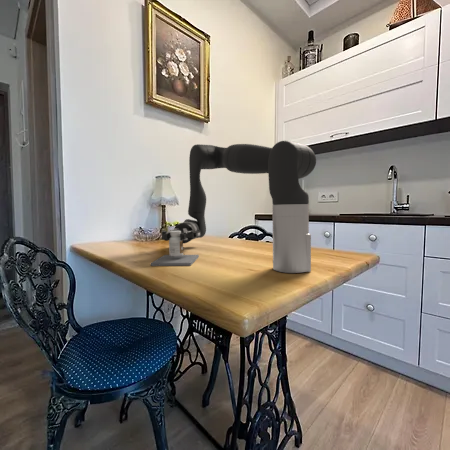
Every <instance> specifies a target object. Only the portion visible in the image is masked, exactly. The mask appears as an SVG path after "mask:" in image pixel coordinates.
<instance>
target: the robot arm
mask: <svg viewBox="0 0 450 450" xmlns="http://www.w3.org/2000/svg"><path fill="white" fill-rule="evenodd" d="M316 164H317V157H316V154H315V152H314V151H313V149H312V148H311V147H309V146H308V145H305V144H303V143H298V142H295V141H291V140H281V141H278V142H276V143H275V144H273V146H272V147H269V146H264V145H260V144H259V145H258V144H251V143H237V144H231V145H229V146H227V147H223V146H218V145H212V144H194V145H192V147H191V149H190V151H189V164H188V165H189V169H188V170H189V199H188V200H189V202H188V210H187V215H188V216H189V217H191V218H192V219H189V218H188V219H184V221H183V222H180V223H178V224H176V225H175V226H174V228H173V229H170V230H169V231H168V230H161V240H163V241H167V242H169V239H170V238H171V236H170V231H181V234H180V240H181V241H183V244H187V243H190V242H191V241H193V240H195V239H199V238H200V239H201V238H203V237H205V235H206V231H207V223H206V219H205V216H206V215H205V214H206V213H205V211H206V207H207V206H206V205H207V195H206V191H205V190H204V187H203V185H202V181H201V171H202V170H216V169H226V170H227V171H229V172H231V173H236V174H246V175H247V174H249V175H250V174H251V175H253V174H256V175H258V174H259V175H260V174H261V175H263V174H267V175H268V176H267V177H268V186H269V187H268V189H269V191H268V192H269V195H270V196H271V200H272V269H273V271H276V272H280V273H286V274H296V273H297V274H299V273H305V272H307V273H308V272H312V235H311V233H309V228H310V227H309V226H310V225H309V223H310V222H309V220H310V218H309V217H310V216H309V214H310V213H309V211H310V209H309V208H310V207H309V205H310V204H309V203H310V202H309V197H310V196H309V194H308V193H307V191H305V190H304V189H303V188H302V187H301V185H300V184H301V183H300V182H299V179H304V178H306V177H307V176H309V175H310V174H311V173H312V172H313V171H314V169H315V167H316ZM193 219H194V220H193Z"/></svg>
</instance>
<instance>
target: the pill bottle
mask: <svg viewBox="0 0 450 450" xmlns="http://www.w3.org/2000/svg"><path fill="white" fill-rule="evenodd" d="M169 232H170V236H171V238H170V239H169V240H168V247H169V250H168V251H169V252H168V253H169V255H170V256H180V255H184V243H183V241H181V240H180V234H181V231H170V230H169Z"/></svg>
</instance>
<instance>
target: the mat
mask: <svg viewBox="0 0 450 450" xmlns="http://www.w3.org/2000/svg"><path fill="white" fill-rule="evenodd" d="M199 258H200V255H199V254H183V255H180V256H170V254H164V255H162V256H160V257H159V258H157V259H156V260H154V261H151V262H150V266H151V267H161V266H162V267H169V266H170V267H183V266H184V267H187V266H189V267H191V266H192V265H193V264H194V263H195V261H197V259H199Z"/></svg>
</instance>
